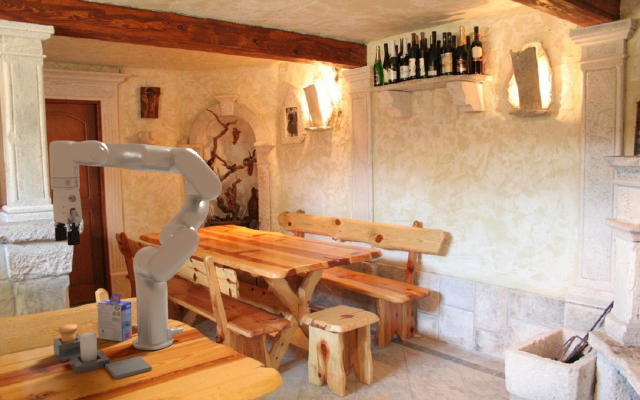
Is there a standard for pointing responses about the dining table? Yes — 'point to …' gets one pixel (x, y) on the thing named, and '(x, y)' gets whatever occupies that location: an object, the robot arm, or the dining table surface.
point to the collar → (87, 366)
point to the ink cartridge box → (114, 319)
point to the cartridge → (88, 347)
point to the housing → (66, 348)
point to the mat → (128, 367)
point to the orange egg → (68, 333)
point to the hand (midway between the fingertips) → (67, 242)
